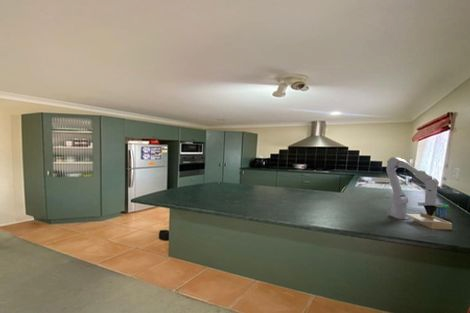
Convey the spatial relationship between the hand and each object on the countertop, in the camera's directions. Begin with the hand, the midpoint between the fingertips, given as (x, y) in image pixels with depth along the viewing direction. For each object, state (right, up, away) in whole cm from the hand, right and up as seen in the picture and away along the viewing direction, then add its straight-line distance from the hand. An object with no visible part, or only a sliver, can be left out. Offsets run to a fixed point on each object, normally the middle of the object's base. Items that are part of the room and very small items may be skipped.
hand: (429, 216), depth 154 cm
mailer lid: (-4, -1, 0) cm, 4 cm away
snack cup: (+21, -5, +17) cm, 27 cm away
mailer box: (+2, -5, 0) cm, 6 cm away
